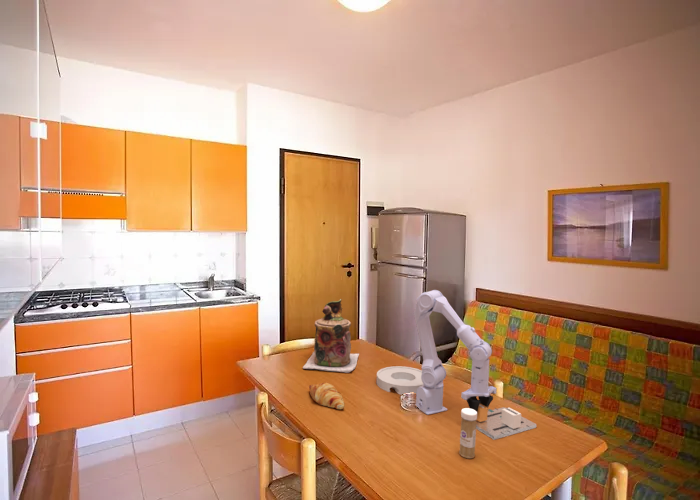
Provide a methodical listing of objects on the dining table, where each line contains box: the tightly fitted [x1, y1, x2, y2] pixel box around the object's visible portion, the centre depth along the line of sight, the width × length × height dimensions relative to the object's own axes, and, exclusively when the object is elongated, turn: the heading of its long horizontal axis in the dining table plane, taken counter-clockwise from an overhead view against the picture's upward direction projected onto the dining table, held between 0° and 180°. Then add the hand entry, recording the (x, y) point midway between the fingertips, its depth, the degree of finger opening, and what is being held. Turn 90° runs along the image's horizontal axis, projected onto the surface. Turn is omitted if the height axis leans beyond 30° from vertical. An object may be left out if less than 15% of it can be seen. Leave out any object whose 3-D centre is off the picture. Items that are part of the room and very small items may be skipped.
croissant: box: [309, 381, 345, 410], centre depth 151 cm, size 21×10×8 cm, turn 41°
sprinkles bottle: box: [458, 407, 477, 460], centre depth 116 cm, size 5×5×14 cm
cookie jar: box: [302, 298, 360, 374], centre depth 192 cm, size 25×25×32 cm
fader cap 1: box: [477, 403, 489, 422], centre depth 137 cm, size 4×5×5 cm
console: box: [476, 406, 537, 441], centre depth 136 cm, size 20×15×1 cm
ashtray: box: [376, 365, 423, 396], centre depth 170 cm, size 23×23×4 cm
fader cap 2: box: [501, 407, 522, 429], centre depth 133 cm, size 4×5×5 cm
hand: (478, 415), depth 137 cm, fingers closed on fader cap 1, 3 cm apart
